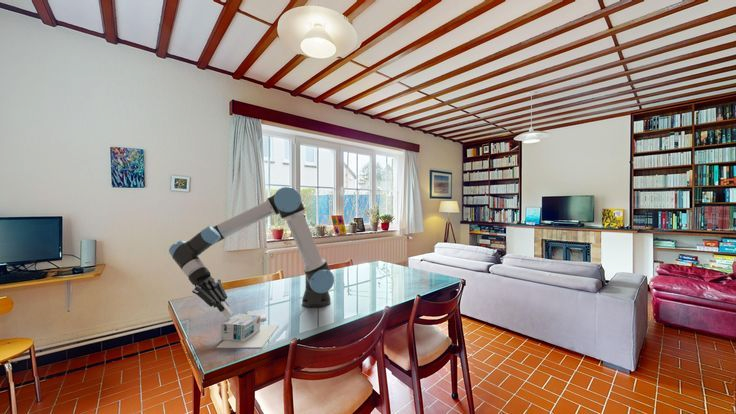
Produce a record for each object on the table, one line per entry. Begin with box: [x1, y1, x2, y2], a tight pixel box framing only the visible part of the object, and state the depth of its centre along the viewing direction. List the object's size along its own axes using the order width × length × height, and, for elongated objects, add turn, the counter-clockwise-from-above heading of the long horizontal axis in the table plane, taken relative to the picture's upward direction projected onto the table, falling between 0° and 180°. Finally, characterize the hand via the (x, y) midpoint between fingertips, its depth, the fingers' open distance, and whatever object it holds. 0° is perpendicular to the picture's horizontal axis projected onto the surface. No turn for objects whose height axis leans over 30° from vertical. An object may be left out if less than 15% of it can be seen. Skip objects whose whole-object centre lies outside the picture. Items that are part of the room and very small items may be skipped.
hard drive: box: [246, 308, 267, 322], centre depth 132 cm, size 2×8×12 cm
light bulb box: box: [220, 312, 261, 342], centre depth 112 cm, size 11×7×11 cm
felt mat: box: [216, 324, 280, 349], centre depth 112 cm, size 17×19×1 cm
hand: (229, 315), depth 113 cm, fingers closed
